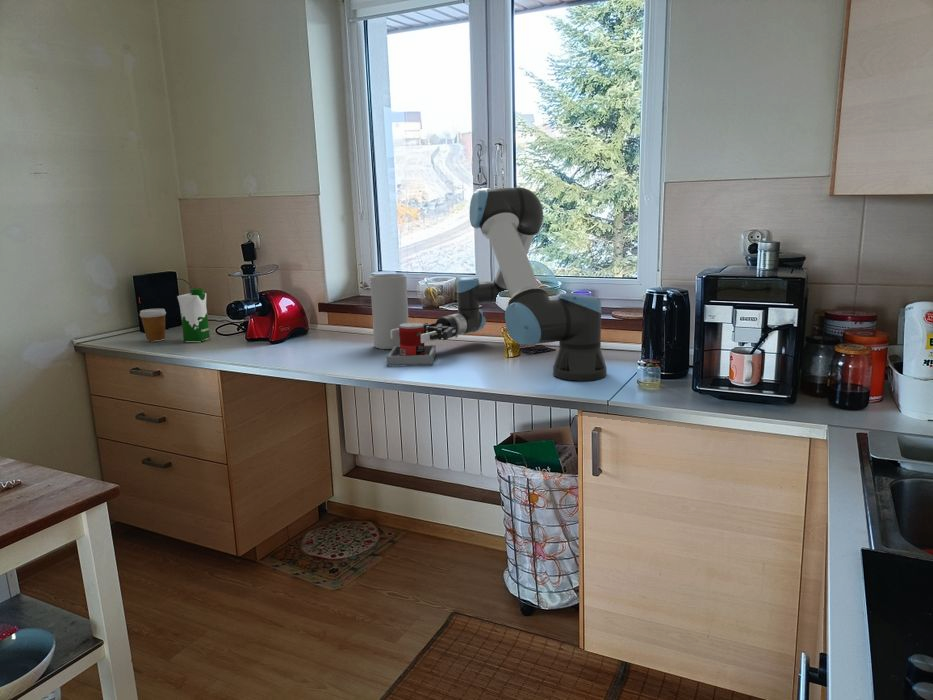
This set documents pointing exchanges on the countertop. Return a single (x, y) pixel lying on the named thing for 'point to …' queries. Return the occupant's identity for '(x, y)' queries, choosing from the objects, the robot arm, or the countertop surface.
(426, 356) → the box
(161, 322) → the disposable coffee cup
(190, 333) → the milk carton
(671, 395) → the countertop surface
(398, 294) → the cylinder vase
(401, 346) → the canned food
